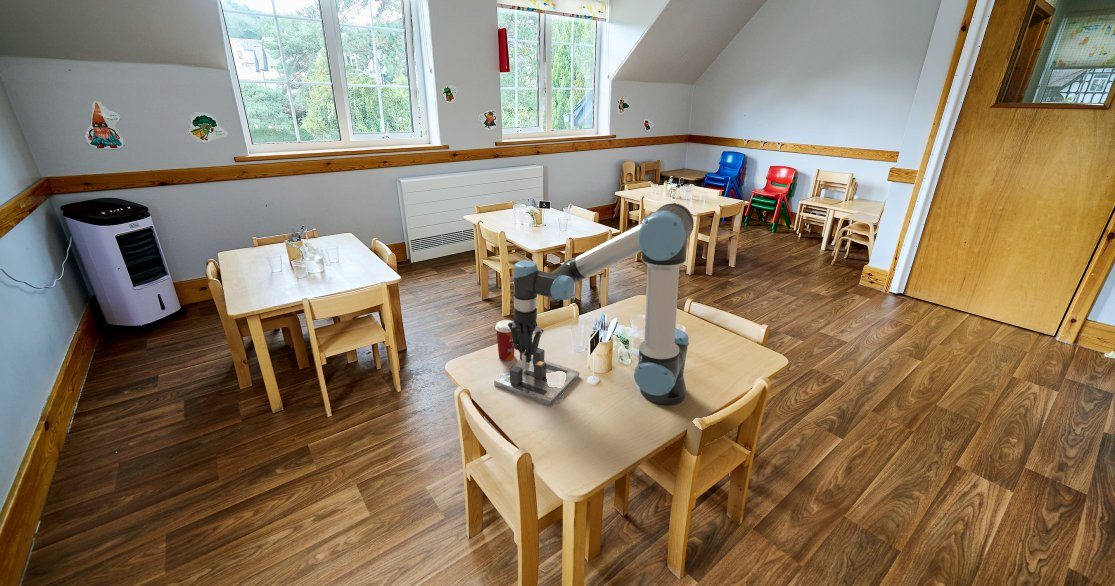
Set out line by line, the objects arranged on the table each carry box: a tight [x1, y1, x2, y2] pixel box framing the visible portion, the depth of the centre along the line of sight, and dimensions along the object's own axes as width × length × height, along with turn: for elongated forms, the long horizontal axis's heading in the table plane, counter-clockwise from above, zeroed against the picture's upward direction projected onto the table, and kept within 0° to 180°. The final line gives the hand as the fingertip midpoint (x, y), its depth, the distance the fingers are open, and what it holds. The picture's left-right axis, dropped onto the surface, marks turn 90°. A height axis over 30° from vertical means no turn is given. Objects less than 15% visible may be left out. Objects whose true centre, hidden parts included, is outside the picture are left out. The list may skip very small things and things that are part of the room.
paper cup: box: [494, 319, 515, 362], centre depth 173 cm, size 8×8×14 cm
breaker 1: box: [510, 366, 523, 385], centre depth 157 cm, size 3×3×5 cm
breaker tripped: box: [534, 361, 546, 380], centre depth 160 cm, size 3×3×5 cm
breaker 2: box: [532, 347, 545, 364], centre depth 168 cm, size 3×3×5 cm
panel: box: [493, 355, 580, 408], centre depth 162 cm, size 22×20×2 cm
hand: (525, 368), depth 163 cm, fingers closed
